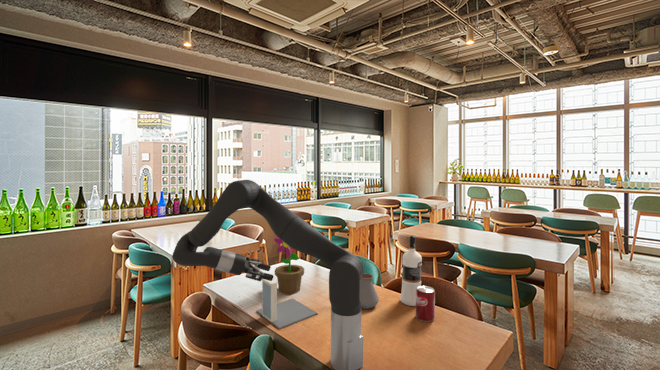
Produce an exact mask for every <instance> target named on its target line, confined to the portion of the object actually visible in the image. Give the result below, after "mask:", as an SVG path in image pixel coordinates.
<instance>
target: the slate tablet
mask: <svg viewBox="0 0 660 370" xmlns="http://www.w3.org/2000/svg"><path fill="white" fill-rule="evenodd" d="M261 282H262V284H261V285H262V289H261V290H262V292H261V293H262V296H261V297H262V301H261V302H262V308H263V316H264V317H265V318H267V319H268V320H269V321H271V322H273V321H276V320H277V303H278V281H275V280H273V279H272V281H269V280H265V279H262V280H261ZM263 316H262V317H263ZM264 317H263V318H264ZM265 318H264V319H265ZM267 319H266V320H267ZM268 320H267V321H268ZM271 322H270V323H271Z"/></svg>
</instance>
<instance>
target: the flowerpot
mask: <svg viewBox="0 0 660 370" xmlns="http://www.w3.org/2000/svg"><path fill="white" fill-rule="evenodd" d="M273 240H274V242H275V243H276V244H279V245H280V246H279V247H278V248H277V250H276V252H277V253H282V252H283V250H285V254H286V256H287V257H288V258H287V259H285V258H284V259H282V260H280V262H281V263H283V264H284V265H280V266H277V267H275V269H274V276H276V278H277V288H278V291H279V292H280V294H283V295H293V294H297V293H299V292H300V291H301V287H302V284H301V283H302V278H303V276H304V275H305V268H304V267H303V266H302V265H298V264H291V260H293V261H298V260H300V257H299V256H298V255H297V254H296V253H292V251H291V249H292V250H294V249H293V248H291V247H290V246H289V245H287V244H286V243H285V242H283V241H282V240H281V239H280V238H278V237H274V238H273ZM281 244H282V245H281Z"/></svg>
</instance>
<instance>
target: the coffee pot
mask: <svg viewBox="0 0 660 370" xmlns="http://www.w3.org/2000/svg"><path fill="white" fill-rule="evenodd" d="M373 279H374V276H373V275H372V274H370V273H363V276H362V278H361V280H360V300H361V309H363V310H364V309H365V310H368V309H372V308H374V307H375V306H376V305H378V303H379V301H380V299H379V296H378V294H377V291H376V288H375V286H374V283H373V281H372V280H373Z"/></svg>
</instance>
